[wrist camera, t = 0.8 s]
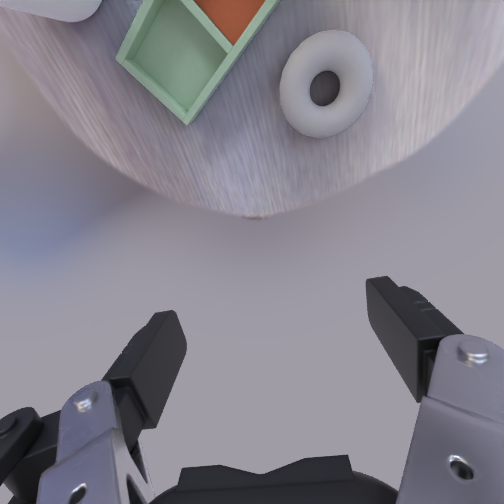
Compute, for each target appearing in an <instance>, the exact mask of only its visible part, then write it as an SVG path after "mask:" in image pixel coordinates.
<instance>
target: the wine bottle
mask: <svg viewBox="0 0 504 504" xmlns="http://www.w3.org/2000/svg"><path fill="white" fill-rule="evenodd" d="M101 2H102V0H0V7H2V8H7V9H11V10H15V11H20V12H24V13H29V14H33V15H38V16H42V17H47V18H51V19H55V20H60V21H65V22H78V21H82V20H85V19H87V18H88V17H90V16H91V15H93V14H94V12H95V11H96V10H97V9H98V7H99V5H100V4H101Z"/></svg>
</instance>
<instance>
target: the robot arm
mask: <svg viewBox="0 0 504 504" xmlns="http://www.w3.org/2000/svg"><path fill="white" fill-rule="evenodd" d="M366 296H367V310H368V317H369V321H370V324H371V327H372V329H373V330H374V332H375V334H376V335H377V337H378V339H379V340H380V342H381V344H382V345H383V347H384V349H385V350H386V352H387V354H388V355H389V357H390V358H391V360H392V362H393V364H394V365H395V367H396V369H397V370H398V372H399V373H400V375H401V377H402V379H403V380H404V382H405V384H406V385H407V387H408V388H409V390H410V392H411V393H412V395H413V397H414V398H415V400H416V402H417V403H420V402H421V404H420V408H419V412H418V416H417V420H416V424H415V428H414V433H413V437H412V440H411V444H410V448H409V452H408V456H407V460H406V465H405V469H404V472H403V476H402V480H401V484H400V489H399V491H397V490H395V489H394V488H392V487H391V486H389V485H388V484H386V483H384V482H382V481H380V480H378V479H376V478H374V477H372V476H369V475H366V474H363V473H360V472H356V471H352V468H351V464H350V461H349V457H348V455H338V456H326V457H313V458H304V459H301V460H299V461H296V462H293V463H291V464H288V465H286V466H283V467H281V468H278V469H275V470H273V471H270V472H268V473H265V474H255V473H251V472H247V471H243V470H239V469H235V468H231V467H227V466H222V465H213V466H200V467H188V468H182V470H181V474H180V477H179V481H178V485H176V486H174V487H172V488H170V489H168V490H166V491H164V492H163V493H162V494H160V495H159V496H157V497H155V494H154V491H153V487H152V483H151V479H150V475H149V471H148V467H147V463H146V459H145V455H144V451H143V447H142V444H141V441H140V439H139V435H140V433H141V430H143V429H153V428H156V427H157V424H158V422H159V419H160V416H161V414H162V412H163V409H164V407H165V404H166V402H167V399H168V397H169V394H170V392H171V389H172V387H173V384H174V382H175V379H176V377H177V374H178V372H179V369H180V367H181V364H182V362H183V360H184V357H185V355H186V350H187V343H186V338H185V335H184V333H183V330H182V327H181V325H180V322H179V319H178V317H177V314H176V312H175V311H173V310H170V311H163V312H158V313H155V314H154V315H153V316H152V318H151V319H150V321H149V322H148V323H147V325H146V326H144V327H143V328H142V329H141V330H139V331H138V332H137V333H136V334H135V335H134V336H133V337H132V339H131V340H130V341H129V343H128V346H126V347H125V348H124V350H123V351H122V354H120V355H119V357H118V358H117V359H116V361H115V362H114V363H113V365H112V366H111V368H110V369H109V370H108V372H107V373H106V374H105V376H104V377H103V379H102V380H101V381H97V382H93V383H91V384H89V385H87V386H85V387H83V388H81V389H80V390H78V391H77V392H76V393H75V394H73V395H72V396H71V397H70V398H69V399H68V400H67V402H66V403H65V404H64V406H63V407H62V410H59V411H57V412H54V413H52V414H49V415H46V416H44V417H41V418H40V417H39V415H38V414H37V412H36V411H35V410H34V408H32V407H25V408H21V409H19V410H16V411H14V412H12V413H10V414H8V415H7V416H5V417H3V418H2V419H1V420H0V486H1V485H2V483H4V484H5V485H6V487H7V488H8V489H9V490H10V491H11V492H12V493H13V494H14V496H13V497H12V499H11V500H10V501H9V503H8V504H504V350H503V349H502V348H501V347H499V346H498V345H496V344H494V343H493V342H490V341H488V340H486V339H483V338H480V337H476V336H472V335H465V334H464V333H463V332H462V331H461V330H459V329H458V328H457V327H456V326H455V325H454V324H453V323H452V322H451V321H450V320H449V319H447V318H446V317H445V316H444V315H443V314H442V313H441V312H440V311H439V310H438V309H436V308H435V307H434V306H433V305H432V304H431V303H430V302H428V300H427V299H426V298H425V297H423V296H422V295H421V294H420V293H419V292H417V291H415V290H413V289H411V288H408V287H406V286H402V287H398V286H397V285H396V284H395V283H394V282H393V281H392V280H391V279H390V278H389V277H388V276H383V277H376V278H370V279H367V280H366Z"/></svg>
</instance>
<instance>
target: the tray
mask: <svg viewBox="0 0 504 504" xmlns="http://www.w3.org/2000/svg"><path fill="white" fill-rule="evenodd" d="M280 1H281V0H143V2H142V4H141V6H140V8H139V10H138V12H137V14H136V16H135V18H134V20H133V22H132V24H131V26H130V29H129V31H128V33H127V35H126V37H125V39H124V41H123V43H122V45H121V47H120V49H119V51H118V53H117V55H116V57H115V60H116V61H117V62H118V63H119V64H121V65H122V66H123V67H124V68H125V69H126V70H127V71H128V72H129V73H130V74H131V75H132V76H133V77H135V78H136V79H137V80H138V81H139V82H140V83H141V84H142V85H143V86H144V87H145V88H146V89H147V90H149V91H150V92H151V93H152V94H153V95H154V96H155V97H156V98H157V99H158V100H159V101H160V102H162V103H163V104H164V105H165V106H166V107H167V108H168V109H169V110H170V111H171V112H172V113H173V114H175V115H176V116H177V117H178V118H179V119H180V120H181V121H182V122H183V123H184V124H185V125H186V126H188V125H189V124H190V123H192V122H193V121H194V119H195V118H196V117H197V115H198V114H199V112H200V111H201V110H202V108H203V107H204V106H205V104H206V103H207V101H208V100H209V99H210V97H211V96H212V95H213V93H214V92H215V90H216V89H217V88H218V86H219V85H220V83H221V82H222V81H223V79H224V78H225V77H226V75H227V74H228V72H229V71H230V70H231V68H232V67H233V66H234V64H235V63H236V61H237V60H238V59H239V57H240V56H241V55H242V53H243V52H244V50H245V49H246V48H247V46H248V45H249V44H250V42H251V41H252V39H253V38H254V37H255V35H256V34H257V33H258V31H259V30H260V28H261V27H262V26H263V24H264V23H265V21H266V20H267V19H268V17H269V16H270V15H271V13H272V12H273V10H274V9H275V8H276V6H277V5H278V4H279V2H280Z"/></svg>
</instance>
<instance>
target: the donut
mask: <svg viewBox="0 0 504 504" xmlns="http://www.w3.org/2000/svg"><path fill="white" fill-rule="evenodd" d="M322 71H332V72H334V73H335V74H337V76H338V78H339V81H340V91H339V93H338V96H337V97H336V99H335V100H334V101H333V102H332V103H331V104H329V105H327V106H318V105H316V104H315V103H313V101H312V100H311V97H310V85H311V82H312V80H313V79H314V77H315V76H316V75H317V74H319V73H321V72H322ZM373 77H374V73H373V66H372V60H371V57H370V55H369V53H368V51H367V49H366V47H365V45H364V43H362V42H361V41H360V40H359V39H358V38H356V37H355V36H354V35H353V34H351V33H348V32H345V31H341V30H337V29H332V30H325V31H319V32H317V33H316V34H314V35H312V36H310V37H308V38H307V39H305V40H304V41H303V42H302V43H301V44H300V45H299V46H298V47H297V48H296V49H295V50H294V51H293V52H292V53H291V55H290V57H289V59H288V61H287V63H286V65H285V67H284V69H283V72H282V76H281V81H280V85H279V92H280V104H281V107H282V110H283V113H284V116H285V118H286V119H287V121H288V122H289V123H290V125H291V126H292V127H293V128H294V129H295V130H297V131H298V132H300V133H301V134H303V135H306V136H310V137H314V138H323V137H331V136H333V135H335V134H338V133H340V132H342V131H344V130H345V129H346V128H348V127H349V126H350V125H351V124H353V123H354V122H355V121H356V120H357V118H358V117H359V115H360V114H361V113H362V111H363V110H364V109H365V107H366V104H367V102H368V99H369V97H370V95H371V92H372V85H373Z"/></svg>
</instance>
